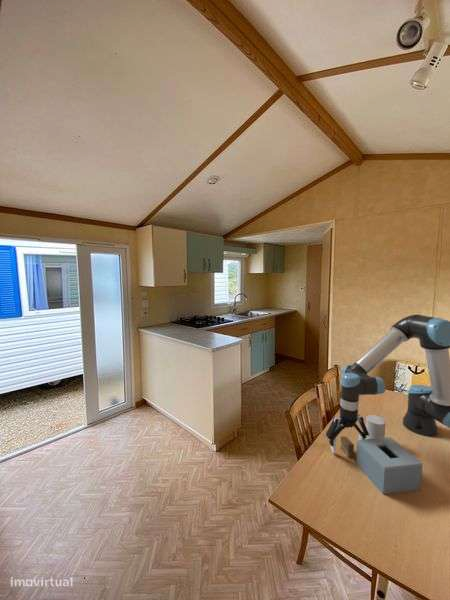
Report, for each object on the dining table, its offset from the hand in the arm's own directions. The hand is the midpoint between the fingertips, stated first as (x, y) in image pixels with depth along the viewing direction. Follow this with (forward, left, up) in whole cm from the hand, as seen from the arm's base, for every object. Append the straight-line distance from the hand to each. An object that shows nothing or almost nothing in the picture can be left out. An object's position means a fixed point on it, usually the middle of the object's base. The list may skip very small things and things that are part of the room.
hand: (346, 450), depth 120 cm
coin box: (-8, +15, -1) cm, 17 cm away
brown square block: (0, 0, -1) cm, 1 cm away
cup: (-18, -5, -1) cm, 19 cm away
